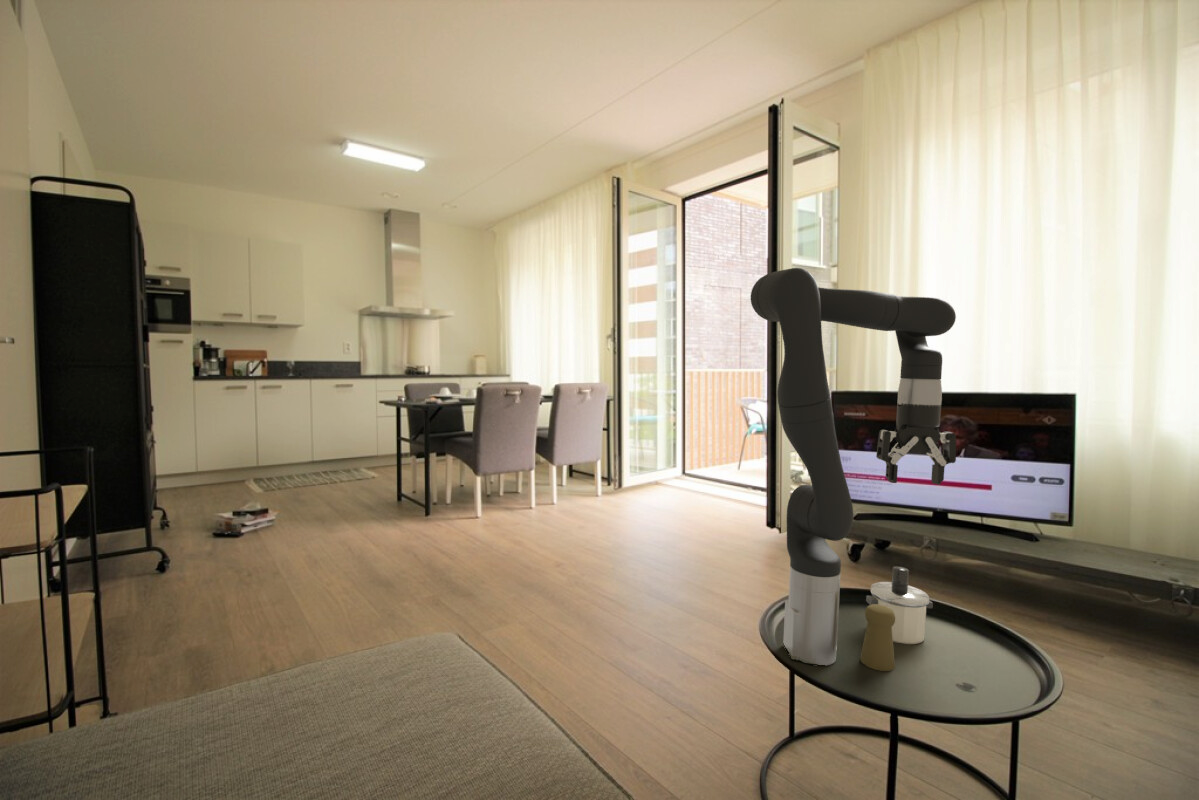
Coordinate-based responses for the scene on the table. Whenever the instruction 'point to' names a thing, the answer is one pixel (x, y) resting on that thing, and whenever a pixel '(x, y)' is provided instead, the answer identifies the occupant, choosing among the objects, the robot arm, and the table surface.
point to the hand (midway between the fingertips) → (913, 483)
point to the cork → (878, 638)
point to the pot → (906, 621)
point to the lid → (900, 590)
